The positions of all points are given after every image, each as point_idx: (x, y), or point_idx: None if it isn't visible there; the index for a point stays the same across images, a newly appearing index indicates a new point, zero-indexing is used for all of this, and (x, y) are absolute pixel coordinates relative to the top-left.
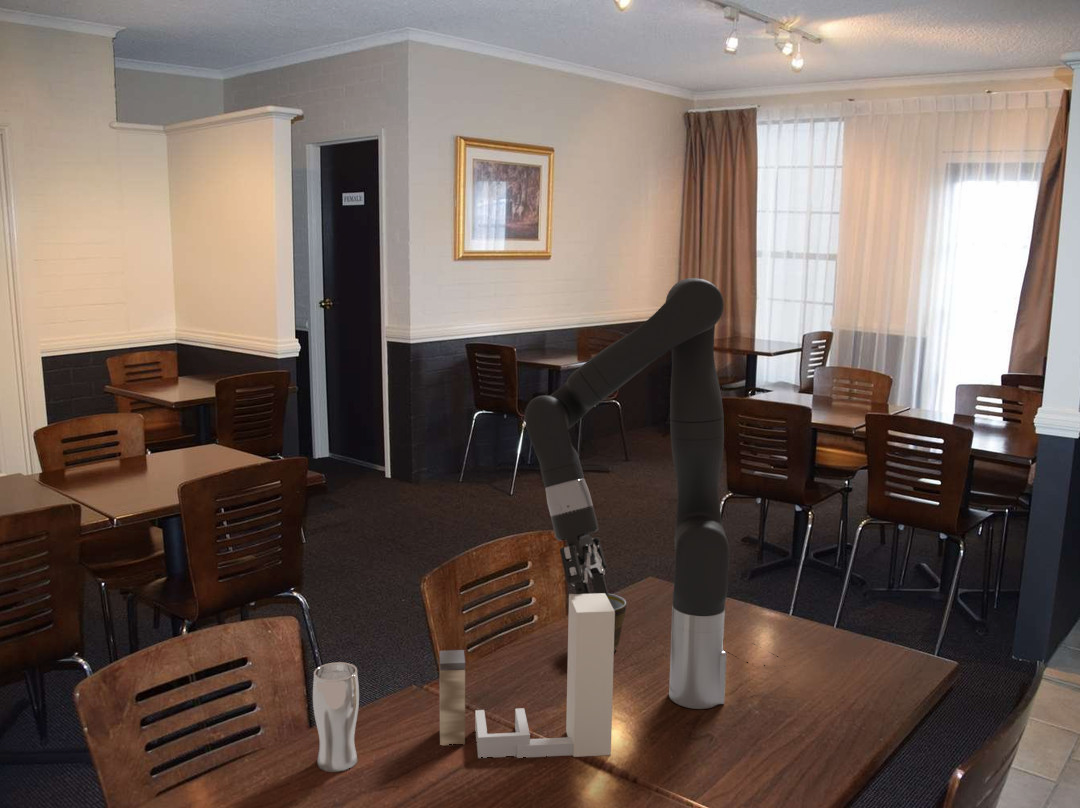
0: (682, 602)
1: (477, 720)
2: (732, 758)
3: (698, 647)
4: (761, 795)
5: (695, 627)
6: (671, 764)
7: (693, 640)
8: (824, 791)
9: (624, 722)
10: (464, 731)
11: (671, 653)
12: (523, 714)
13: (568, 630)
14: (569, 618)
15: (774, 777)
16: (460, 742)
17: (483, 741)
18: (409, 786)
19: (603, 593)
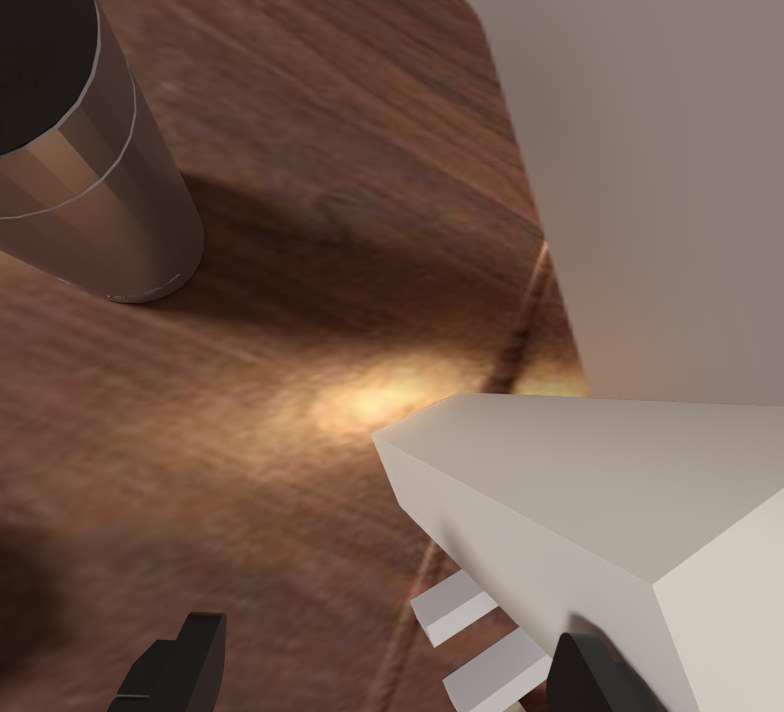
0: (34, 64)
1: (511, 702)
2: (401, 162)
3: (156, 134)
4: (502, 125)
5: (126, 90)
6: (455, 275)
7: (148, 138)
8: (460, 19)
9: (319, 391)
10: (522, 707)
11: (102, 263)
12: (454, 614)
13: None
14: None
15: (443, 94)
16: None
17: None
18: None
19: (661, 596)
